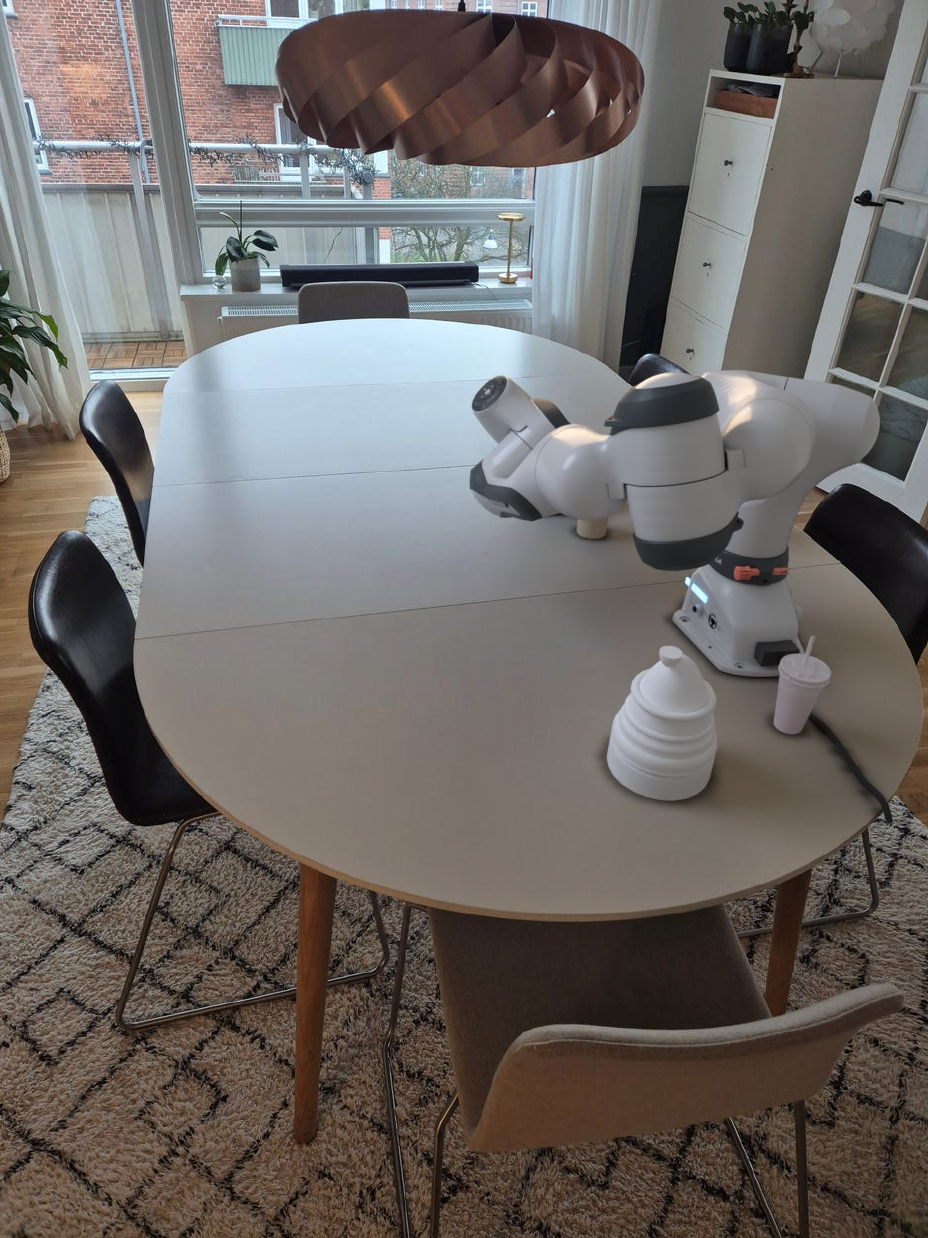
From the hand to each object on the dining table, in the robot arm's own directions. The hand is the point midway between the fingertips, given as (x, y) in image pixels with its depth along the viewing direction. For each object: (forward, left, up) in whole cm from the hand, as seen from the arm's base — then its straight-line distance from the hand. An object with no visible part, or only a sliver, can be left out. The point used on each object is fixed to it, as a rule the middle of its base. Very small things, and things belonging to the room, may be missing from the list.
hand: (578, 489), depth 155 cm
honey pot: (-61, +3, -10) cm, 62 cm away
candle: (+2, -4, -10) cm, 11 cm away
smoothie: (-55, -17, -10) cm, 58 cm away
